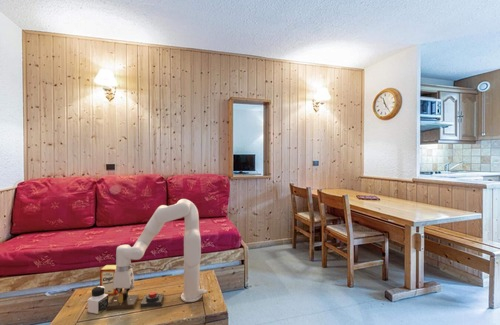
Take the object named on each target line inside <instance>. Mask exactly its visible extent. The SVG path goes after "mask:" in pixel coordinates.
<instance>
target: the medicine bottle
mask: <svg viewBox="0 0 500 325" xmlns="http://www.w3.org/2000/svg"><path fill="white" fill-rule="evenodd" d="M108 303H109V295H108V294H105V287H103V286H100V285H98V286H95V287H93V288H92V289H91V297H88V299H87V313H91V314H97V315H99V314H100V313H102V312H103V311H105V310H106V307H107V305H108Z"/></svg>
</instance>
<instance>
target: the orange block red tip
mask: <svg viewBox="0 0 500 325" xmlns="http://www.w3.org/2000/svg"><path fill="white" fill-rule="evenodd" d="M123 294H124V289H122V292H120V293H118V296H119V303H122V302H123Z"/></svg>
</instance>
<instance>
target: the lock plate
mask: <svg viewBox="0 0 500 325" xmlns="http://www.w3.org/2000/svg"><path fill="white" fill-rule="evenodd" d="M139 297H140V296H139V294H128V298H127V299H126V300H125V301H123V302H122V303H119V295H112V297H111V299H110V300H109V301H108V305H107V307H106V309H105V310H106V312H109V311H121V310H133V309H135V307H136V304H137V303H138V300H139Z"/></svg>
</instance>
